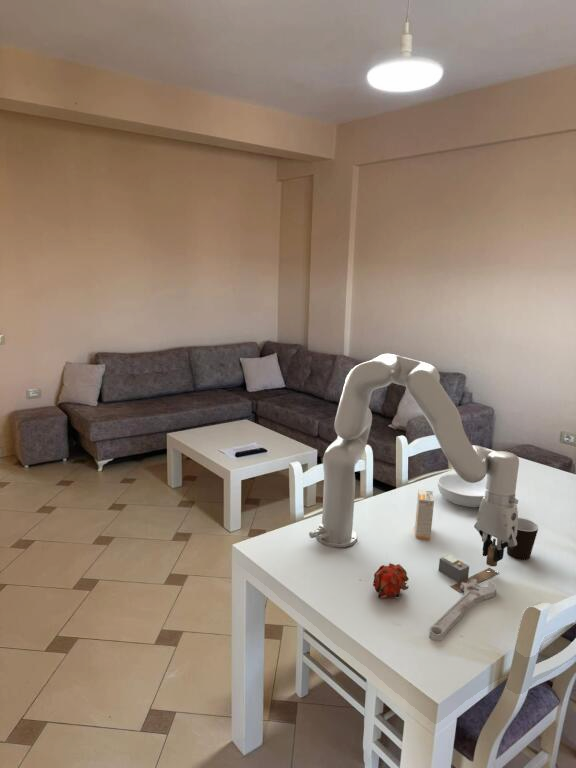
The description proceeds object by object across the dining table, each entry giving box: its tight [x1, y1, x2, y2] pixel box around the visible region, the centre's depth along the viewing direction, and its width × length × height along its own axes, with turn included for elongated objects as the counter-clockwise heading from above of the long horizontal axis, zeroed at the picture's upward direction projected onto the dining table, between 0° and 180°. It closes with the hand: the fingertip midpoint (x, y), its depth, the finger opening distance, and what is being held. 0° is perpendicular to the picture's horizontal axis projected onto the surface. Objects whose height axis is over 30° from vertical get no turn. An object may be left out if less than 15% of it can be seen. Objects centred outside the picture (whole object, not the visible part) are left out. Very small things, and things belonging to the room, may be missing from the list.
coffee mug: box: [506, 517, 539, 561], centre depth 162 cm, size 12×9×10 cm
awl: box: [485, 538, 498, 568], centre depth 151 cm, size 3×3×8 cm
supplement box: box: [414, 489, 435, 540], centre depth 172 cm, size 8×5×13 cm, turn 168°
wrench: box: [428, 579, 497, 642], centre depth 135 cm, size 8×2×30 cm
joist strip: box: [450, 567, 498, 593], centre depth 149 cm, size 17×3×1 cm, turn 125°
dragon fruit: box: [372, 562, 409, 599], centre depth 140 cm, size 8×8×12 cm
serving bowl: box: [437, 473, 487, 508], centre depth 197 cm, size 21×21×7 cm
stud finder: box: [438, 554, 470, 583], centre depth 150 cm, size 4×7×4 cm, turn 35°
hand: (492, 557), depth 151 cm, fingers closed on awl, 2 cm apart
